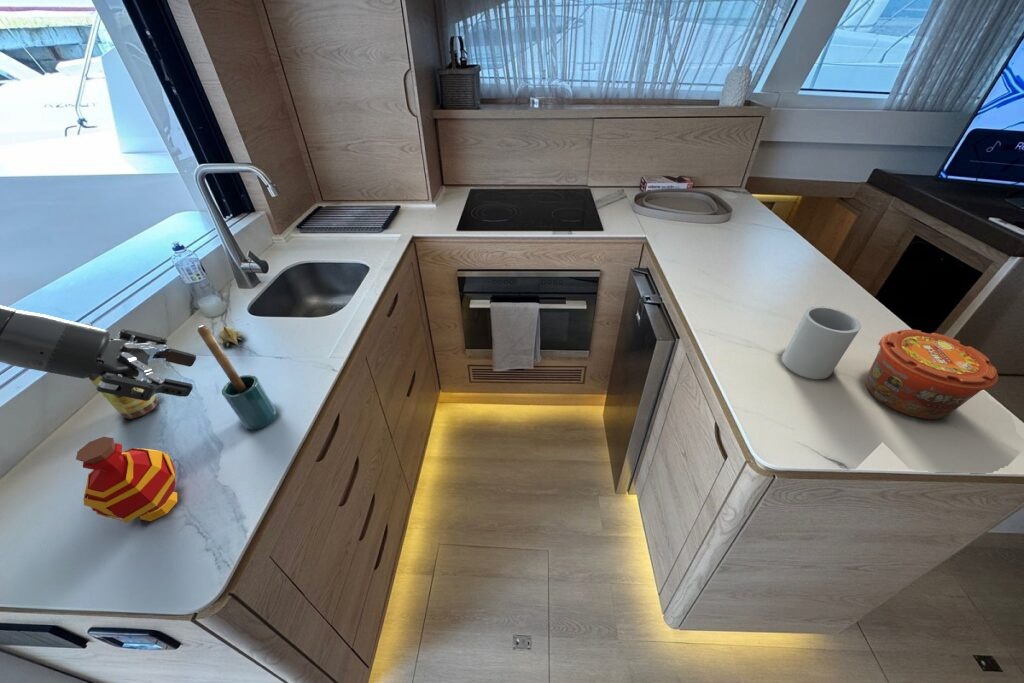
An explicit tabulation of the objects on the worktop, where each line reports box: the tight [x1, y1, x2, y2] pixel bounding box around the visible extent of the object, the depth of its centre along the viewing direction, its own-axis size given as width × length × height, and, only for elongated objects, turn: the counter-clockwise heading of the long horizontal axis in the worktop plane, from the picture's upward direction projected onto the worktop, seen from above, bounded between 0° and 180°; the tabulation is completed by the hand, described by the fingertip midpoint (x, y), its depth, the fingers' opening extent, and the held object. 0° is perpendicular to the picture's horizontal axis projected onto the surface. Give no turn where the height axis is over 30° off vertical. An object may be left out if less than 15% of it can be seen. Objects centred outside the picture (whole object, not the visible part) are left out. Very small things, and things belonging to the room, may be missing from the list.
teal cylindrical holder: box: [221, 374, 278, 431], centre depth 74 cm, size 6×6×9 cm
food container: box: [864, 329, 999, 420], centre depth 74 cm, size 16×16×11 cm
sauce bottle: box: [81, 322, 159, 420], centre depth 74 cm, size 7×6×20 cm
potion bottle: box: [75, 436, 178, 523], centre depth 59 cm, size 10×10×15 cm
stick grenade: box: [197, 325, 250, 395], centre depth 70 cm, size 3×3×22 cm
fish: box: [219, 325, 244, 349], centre depth 95 cm, size 5×14×5 cm, turn 48°
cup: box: [781, 305, 862, 380], centre depth 81 cm, size 9×9×12 cm
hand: (192, 375), depth 67 cm, fingers open, 8 cm apart
